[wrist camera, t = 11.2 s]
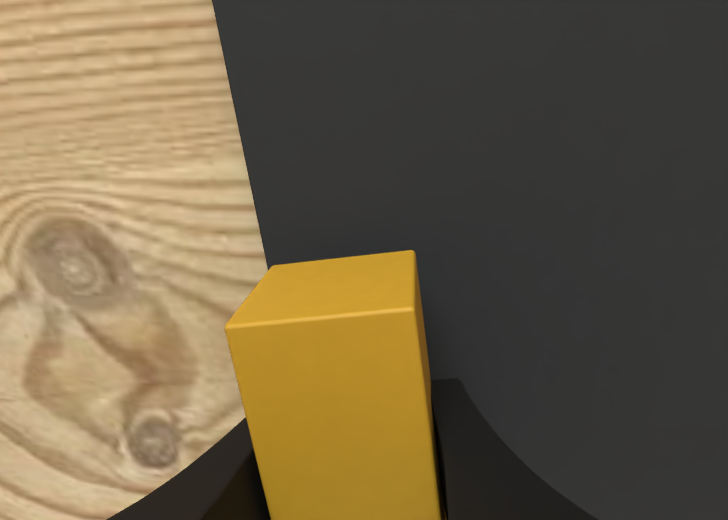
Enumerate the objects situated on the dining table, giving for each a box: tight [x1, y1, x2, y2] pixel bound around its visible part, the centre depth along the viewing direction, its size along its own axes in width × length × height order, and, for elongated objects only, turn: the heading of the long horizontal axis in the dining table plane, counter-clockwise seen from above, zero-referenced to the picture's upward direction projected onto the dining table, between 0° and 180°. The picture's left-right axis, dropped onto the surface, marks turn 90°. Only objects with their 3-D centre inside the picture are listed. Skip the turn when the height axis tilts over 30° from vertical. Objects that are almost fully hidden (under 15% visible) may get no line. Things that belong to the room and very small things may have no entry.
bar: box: [225, 250, 446, 520], centre depth 11 cm, size 8×3×3 cm, turn 8°
